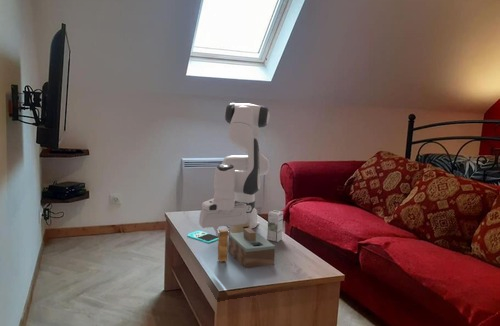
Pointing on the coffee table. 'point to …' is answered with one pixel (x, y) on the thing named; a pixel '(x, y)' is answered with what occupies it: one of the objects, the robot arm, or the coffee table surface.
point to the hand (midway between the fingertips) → (223, 235)
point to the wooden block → (222, 245)
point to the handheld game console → (203, 236)
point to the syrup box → (275, 225)
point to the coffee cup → (241, 227)
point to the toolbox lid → (251, 240)
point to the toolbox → (251, 256)
